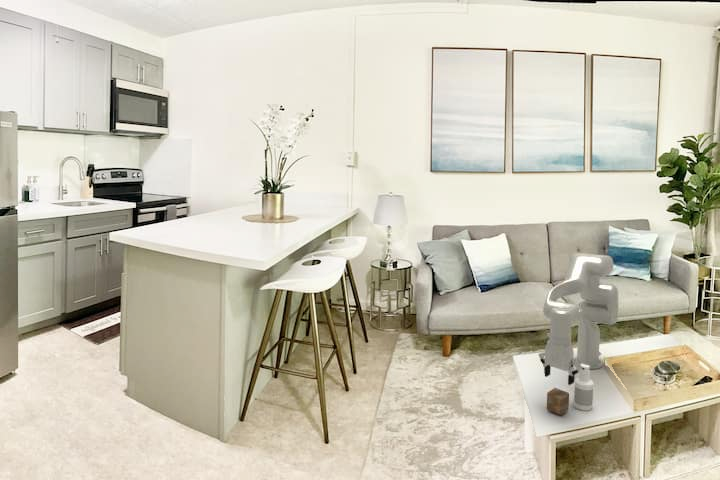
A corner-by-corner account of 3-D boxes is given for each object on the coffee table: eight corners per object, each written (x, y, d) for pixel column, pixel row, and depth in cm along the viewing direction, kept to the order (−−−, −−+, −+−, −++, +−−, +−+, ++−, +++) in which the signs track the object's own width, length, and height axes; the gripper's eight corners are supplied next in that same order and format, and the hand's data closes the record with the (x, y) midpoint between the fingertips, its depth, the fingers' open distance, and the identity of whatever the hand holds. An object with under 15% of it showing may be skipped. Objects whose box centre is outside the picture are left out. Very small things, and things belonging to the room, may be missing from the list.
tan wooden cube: (546, 409, 190) (547, 392, 188) (554, 403, 193) (555, 387, 192) (561, 415, 185) (561, 398, 184) (568, 409, 189) (569, 392, 188)
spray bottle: (571, 406, 193) (572, 365, 189) (577, 400, 197) (579, 360, 194) (588, 412, 188) (590, 370, 185) (594, 406, 192) (596, 364, 189)
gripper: (534, 336, 189) (533, 375, 192) (577, 348, 175) (575, 390, 179) (544, 330, 193) (543, 369, 196) (586, 342, 180) (585, 383, 183)
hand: (558, 379), depth 187 cm, fingers open, 9 cm apart
